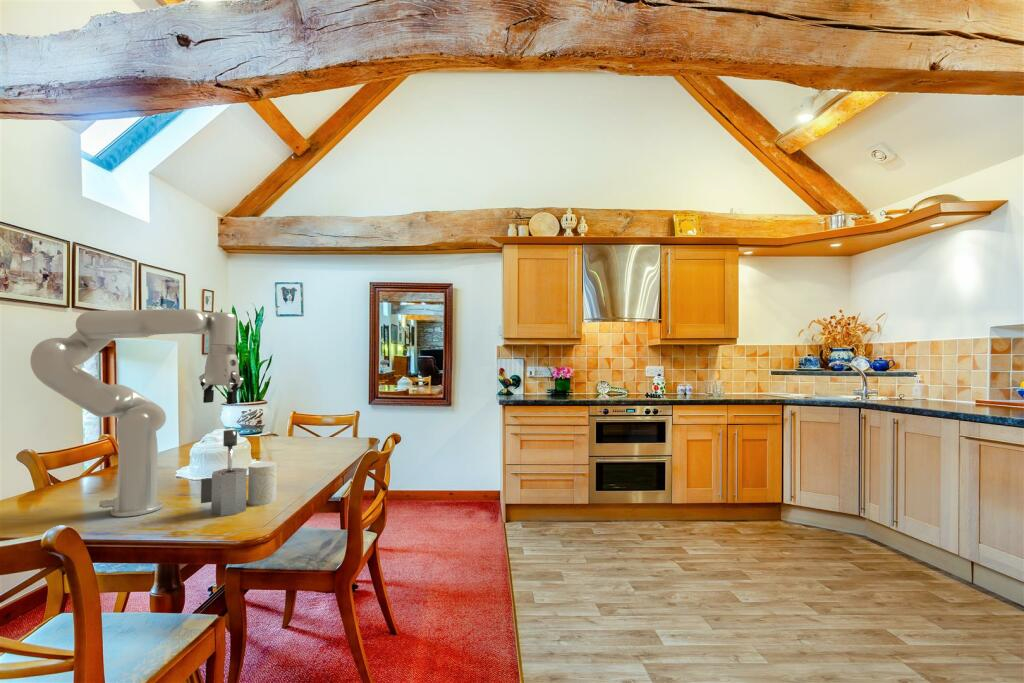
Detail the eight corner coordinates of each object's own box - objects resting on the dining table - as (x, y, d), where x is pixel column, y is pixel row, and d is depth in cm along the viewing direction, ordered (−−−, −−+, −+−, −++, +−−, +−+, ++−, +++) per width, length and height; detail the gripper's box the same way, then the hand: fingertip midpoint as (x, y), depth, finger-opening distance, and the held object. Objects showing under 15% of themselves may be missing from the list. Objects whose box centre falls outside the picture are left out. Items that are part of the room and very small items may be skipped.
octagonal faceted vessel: (199, 519, 141) (199, 477, 141) (202, 510, 149) (203, 470, 149) (245, 513, 146) (246, 473, 146) (246, 504, 154) (246, 466, 154)
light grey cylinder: (251, 507, 152) (251, 468, 152) (245, 500, 158) (246, 464, 158) (279, 502, 157) (279, 464, 157) (272, 496, 163) (273, 460, 163)
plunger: (222, 488, 146) (223, 431, 146) (223, 485, 149) (224, 430, 149) (236, 487, 147) (236, 431, 148) (236, 484, 150) (237, 429, 151)
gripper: (252, 351, 158) (250, 403, 158) (211, 350, 163) (209, 400, 163) (232, 350, 151) (230, 405, 151) (191, 349, 156) (188, 402, 156)
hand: (219, 403), depth 157 cm, fingers open, 9 cm apart
